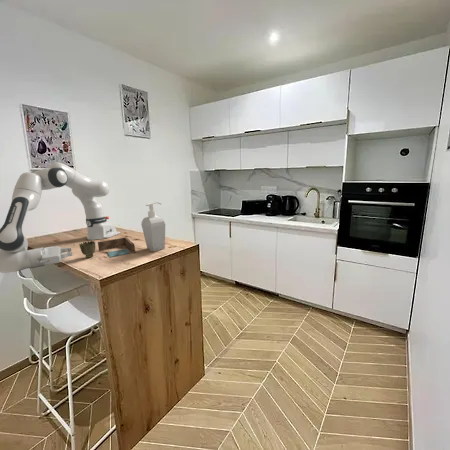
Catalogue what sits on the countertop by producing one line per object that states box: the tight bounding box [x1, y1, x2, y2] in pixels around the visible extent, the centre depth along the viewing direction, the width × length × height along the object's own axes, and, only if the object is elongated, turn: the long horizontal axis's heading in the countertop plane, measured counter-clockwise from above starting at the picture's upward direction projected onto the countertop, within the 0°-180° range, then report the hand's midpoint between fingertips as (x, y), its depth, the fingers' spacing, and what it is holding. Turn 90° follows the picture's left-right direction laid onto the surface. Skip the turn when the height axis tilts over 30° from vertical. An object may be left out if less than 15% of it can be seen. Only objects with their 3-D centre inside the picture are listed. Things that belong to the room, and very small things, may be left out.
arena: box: [97, 236, 136, 259], centre depth 142 cm, size 16×20×5 cm
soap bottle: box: [141, 201, 166, 252], centre depth 142 cm, size 12×10×26 cm
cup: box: [78, 240, 96, 259], centre depth 134 cm, size 8×7×8 cm
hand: (71, 251), depth 130 cm, fingers open, 8 cm apart
